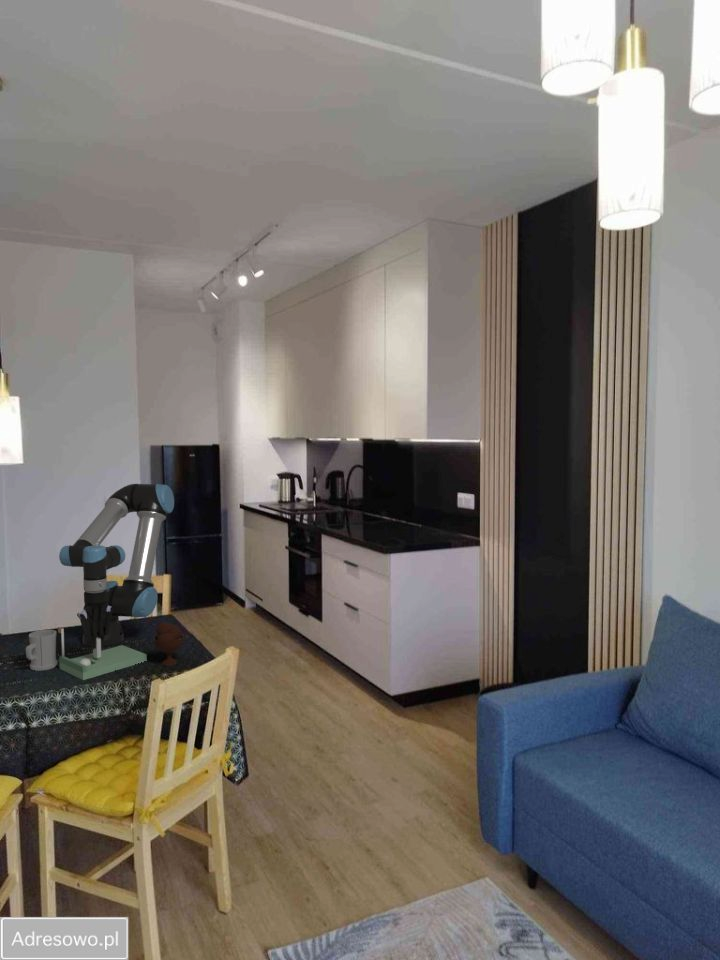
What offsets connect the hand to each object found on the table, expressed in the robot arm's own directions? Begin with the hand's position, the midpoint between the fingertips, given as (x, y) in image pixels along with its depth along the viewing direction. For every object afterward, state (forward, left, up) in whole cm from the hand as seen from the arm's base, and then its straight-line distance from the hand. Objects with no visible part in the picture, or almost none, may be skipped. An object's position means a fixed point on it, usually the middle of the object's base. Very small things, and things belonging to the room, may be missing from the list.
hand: (97, 656), depth 236 cm
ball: (0, -5, -1) cm, 5 cm away
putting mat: (0, +3, -4) cm, 4 cm away
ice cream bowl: (+16, +19, -4) cm, 25 cm away
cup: (-14, -12, -4) cm, 19 cm away
